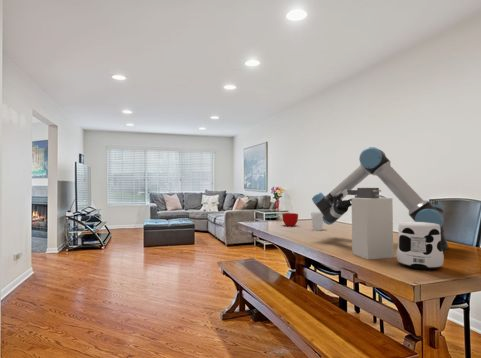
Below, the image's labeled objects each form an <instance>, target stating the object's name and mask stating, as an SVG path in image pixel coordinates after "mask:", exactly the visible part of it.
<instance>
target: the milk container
mask: <svg viewBox="0 0 481 358" xmlns="http://www.w3.org/2000/svg"><path fill="white" fill-rule="evenodd" d="M397 226H398V229H397V230H398V232H397V233H398V234H397V235H398V244H397V248H396V254H395V255H396V259H397V261H398V263H399V264H401V265H402V266H405V267H408V268H413V269H418V270H419V269H420V270H436V269H439V268H441V267H442V266H443V264H444V261H445V260H444V259H445V258H444V257H445V256H444V252H443V250H442V249H441V234H440V233H441V229H440V225H439V224H435V223H427V222H415V221H401V222H398V225H397Z"/></svg>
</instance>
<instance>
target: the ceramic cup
mask: <svg viewBox="0 0 481 358" xmlns="http://www.w3.org/2000/svg"><path fill="white" fill-rule="evenodd" d="M281 214H282V222H283V224H285V225H284V226H286V225H287V226H286V227H290V226H292V227H296V225H297V224H298V220H299V214H298V213H294V212H290V213H289V212H288V213H287V212H286V213H281Z"/></svg>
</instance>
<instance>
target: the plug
mask: <svg viewBox="0 0 481 358" xmlns="http://www.w3.org/2000/svg"><path fill="white" fill-rule="evenodd" d="M356 188H357V189H352V190H347V192H348V194H347V195H346V196H357V197H356V198H380V193H381V192H382V190H381V189H380V188H379V187H356Z"/></svg>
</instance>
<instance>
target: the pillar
mask: <svg viewBox="0 0 481 358" xmlns="http://www.w3.org/2000/svg"><path fill="white" fill-rule="evenodd" d="M351 199H352V202H351V203H352V206H351V243H352V244H351V247H352V248H351V250H352V251H351V255H355V256H357V257H359V258H363V259H365V260H377V259H378V260H380V259H381V260H382V259H390V258H391V259H392V258H394V218H393V217H394V216H393V215H394V214H393V213H394V212H393V209H394V208H393V198H390V197H379V198H357V197H351Z"/></svg>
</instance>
